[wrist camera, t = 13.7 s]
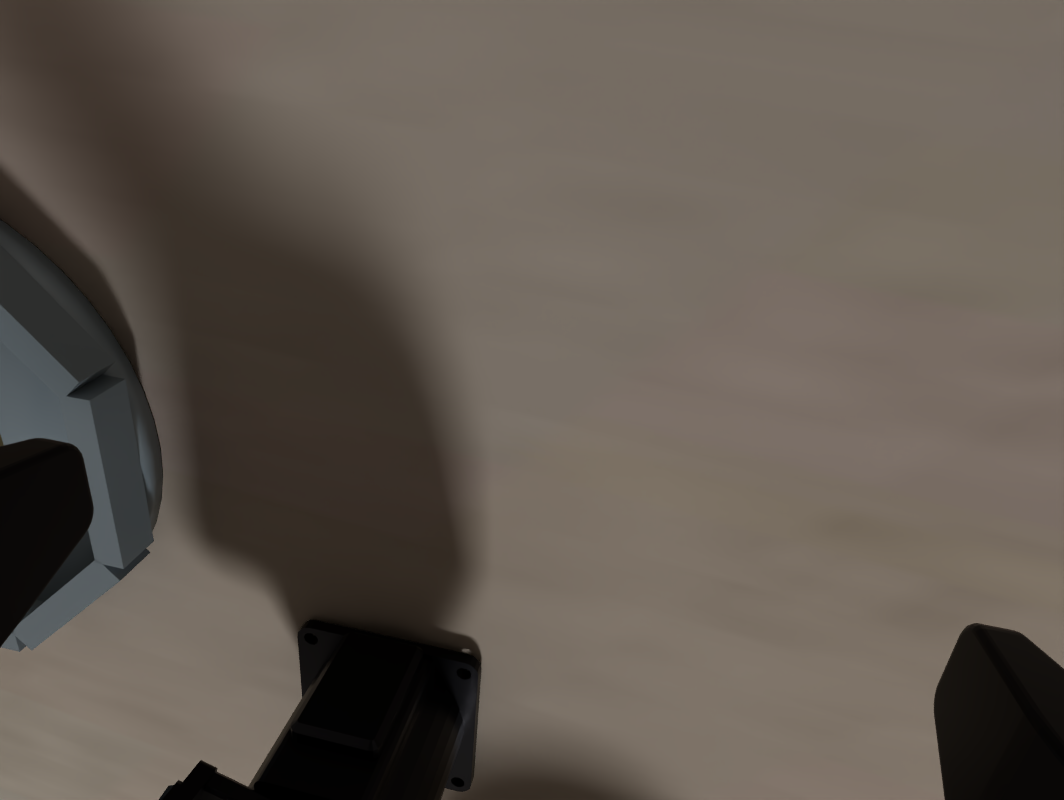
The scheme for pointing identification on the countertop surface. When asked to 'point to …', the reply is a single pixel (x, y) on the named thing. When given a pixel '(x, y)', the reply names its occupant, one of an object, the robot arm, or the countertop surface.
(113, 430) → the dish
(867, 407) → the countertop surface
